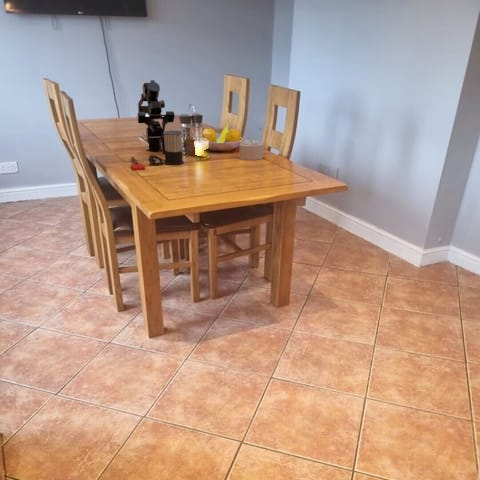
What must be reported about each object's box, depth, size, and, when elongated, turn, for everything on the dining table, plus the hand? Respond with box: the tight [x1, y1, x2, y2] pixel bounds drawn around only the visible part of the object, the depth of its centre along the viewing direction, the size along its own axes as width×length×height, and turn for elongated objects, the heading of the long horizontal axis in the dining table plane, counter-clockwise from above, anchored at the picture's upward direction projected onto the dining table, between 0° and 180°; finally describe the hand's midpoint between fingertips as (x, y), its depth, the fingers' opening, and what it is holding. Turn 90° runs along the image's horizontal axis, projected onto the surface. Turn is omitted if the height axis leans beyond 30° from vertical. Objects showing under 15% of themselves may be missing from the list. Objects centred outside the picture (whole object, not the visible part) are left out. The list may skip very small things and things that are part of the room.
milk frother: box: [147, 129, 184, 166], centre depth 224 cm, size 14×16×15 cm
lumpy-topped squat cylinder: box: [238, 138, 265, 161], centre depth 240 cm, size 10×13×9 cm
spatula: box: [130, 156, 146, 171], centre depth 224 cm, size 21×6×1 cm, turn 19°
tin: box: [183, 137, 201, 158], centre depth 242 cm, size 15×3×8 cm, turn 47°
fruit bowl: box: [201, 123, 245, 152], centre depth 257 cm, size 28×27×11 cm
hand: (159, 131), depth 233 cm, fingers open, 5 cm apart
